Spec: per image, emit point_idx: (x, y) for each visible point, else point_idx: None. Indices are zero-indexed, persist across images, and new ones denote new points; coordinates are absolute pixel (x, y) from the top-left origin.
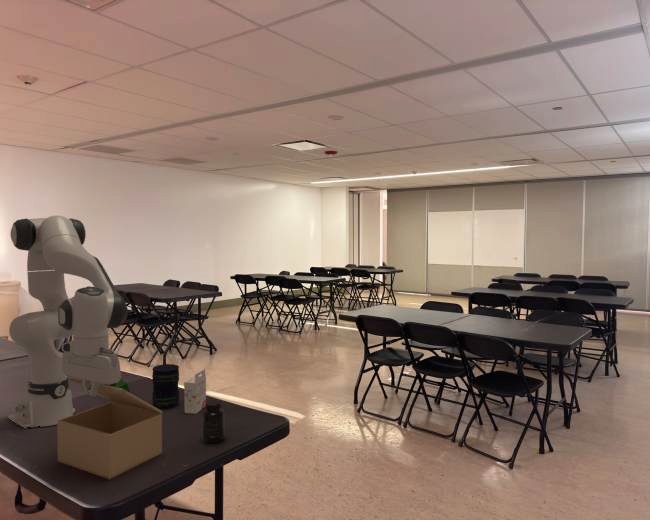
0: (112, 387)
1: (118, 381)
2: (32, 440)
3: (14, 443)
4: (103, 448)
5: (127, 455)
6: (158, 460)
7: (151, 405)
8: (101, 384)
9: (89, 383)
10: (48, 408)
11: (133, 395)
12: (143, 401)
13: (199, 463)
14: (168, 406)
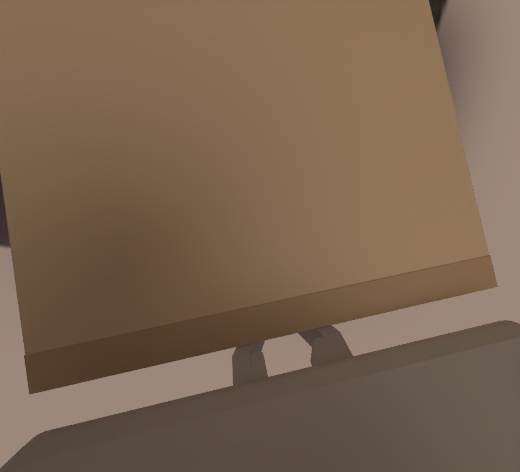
0: (424, 300)
1: (515, 326)
2: (3, 208)
3: (8, 235)
4: None
5: None
6: None
7: (438, 52)
8: (338, 321)
9: (256, 345)
10: None
11: (471, 197)
12: (451, 117)
13: (436, 24)
14: None
